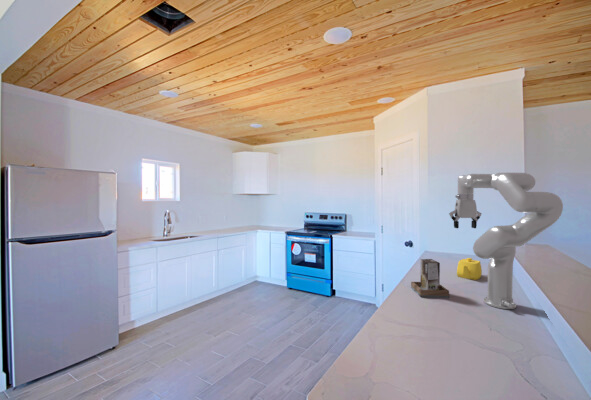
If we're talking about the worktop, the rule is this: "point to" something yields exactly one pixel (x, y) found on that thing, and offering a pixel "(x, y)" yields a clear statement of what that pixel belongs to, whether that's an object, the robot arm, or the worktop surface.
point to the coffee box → (430, 274)
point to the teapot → (469, 269)
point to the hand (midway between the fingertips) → (465, 228)
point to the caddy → (430, 291)
